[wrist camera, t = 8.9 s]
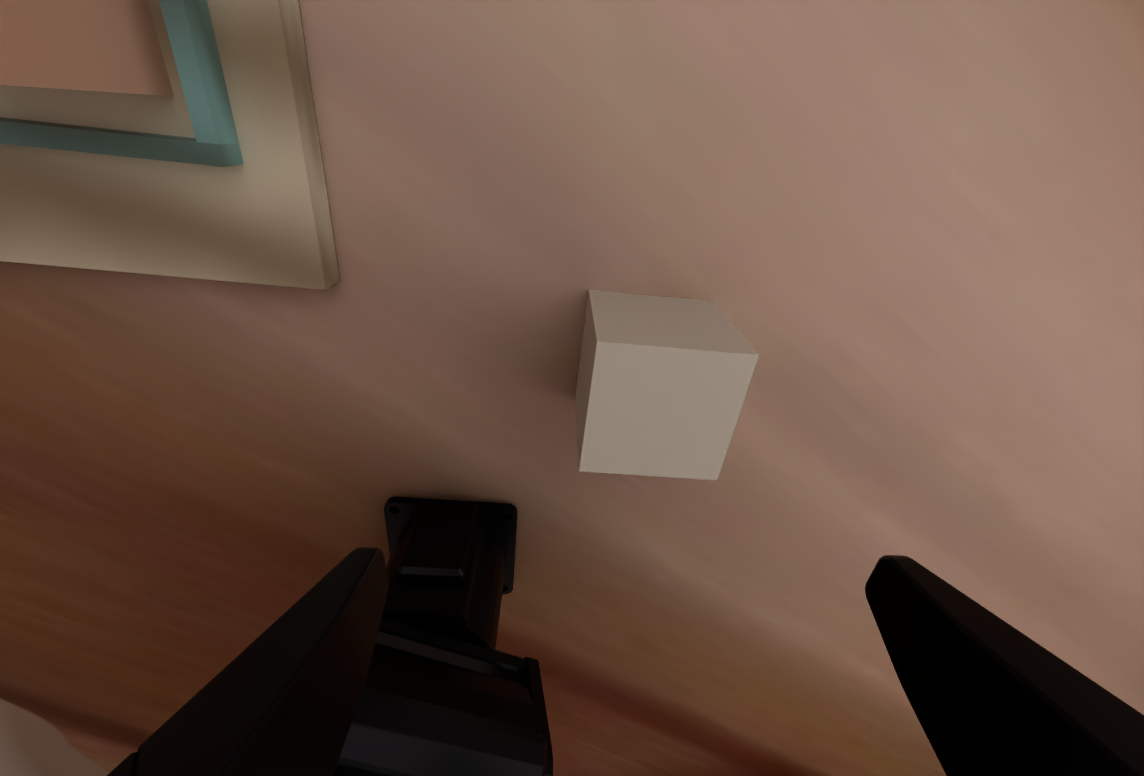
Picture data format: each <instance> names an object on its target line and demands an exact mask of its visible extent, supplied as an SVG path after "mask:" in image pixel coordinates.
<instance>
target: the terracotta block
mask: <svg viewBox="0 0 1144 776" xmlns="http://www.w3.org/2000/svg"><path fill="white" fill-rule="evenodd" d="M0 85H11V86H26V87H41V88H56V89H71V90H86V91H101V92H116V93H131V94H146V95H161V96H174V94H173V91H172V87H171V84H170V80H169V76H168V73H167V69H166V66H165V62H164V58H163V55H162V51H161V47H160V44H159V40H158V37H157V33H156V29H155V26H154V22H153V19H152V15H151V11H150V8H149V4H148V1H147V0H0Z"/></svg>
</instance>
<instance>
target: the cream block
mask: <svg viewBox="0 0 1144 776" xmlns="http://www.w3.org/2000/svg"><path fill="white" fill-rule="evenodd" d="M758 357H759V354H758V353H757V352H756V351H755V350H754V349H753V347H752V346H751V345H750V344H749V343H748V342H747V340H746V339H745V338H744V337H743V336H742V335H741V333H740V332H739V331H738V330H737V329H736V328H735V326H734V325H733V324H732V323H731V322H730V320H729V319H728V318H727V317H726V316H725V315H724V313H723V312H722V311H721V310H720V309H719V308H718V306H717V305H716V304H715V303H714V302H713V301H703V300H693V299H682V298H671V297H661V296H650V295H639V294H628V293H618V292H607V291H596V290H589V291H588V299H587V307H586V315H585V323H584V332H583V340H582V348H581V356H580V364H579V372H578V380H577V388H576V396H575V405H576V424H577V443H578V462H579V471H583V472H598V473H613V474H628V475H643V476H659V477H674V478H689V479H704V480H718V477H719V474H720V471H721V468H722V465H723V462H724V459H725V456H726V453H727V450H728V447H729V444H730V441H731V438H732V435H733V432H734V429H735V426H736V423H737V420H738V417H739V414H740V411H741V408H742V405H743V402H744V399H745V396H746V393H747V390H748V387H749V384H750V381H751V378H752V375H753V372H754V369H755V366H756V363H757V360H758Z"/></svg>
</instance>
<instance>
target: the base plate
mask: <svg viewBox="0 0 1144 776" xmlns="http://www.w3.org/2000/svg"><path fill="white" fill-rule="evenodd" d="M147 1H148V4H149V8H150V11H151V15H152V19H153V22H154V26H155V29H156V33H157V37H158V40H159V44H160V47H161V51H162V55H163V58H164V62H165V66H166V69H167V73H168V76H169V80H170V84H171V87H172V91H173V94H174V96H161V95H146V94H131V93H116V92H101V91H86V90H71V89H56V88H41V87H26V86H11V85H0V261H5V262H16V263H28V264H39V265H50V266H61V267H73V268H84V269H95V270H106V271H118V272H129V273H140V274H152V275H163V276H174V277H185V278H197V279H208V280H219V281H230V282H242V283H253V284H264V285H275V286H287V287H298V288H309V289H320V290H327V289H328V288H330V287H331V286H332V285H334V284H335V283H337V282H338V281H339V280H340V278H339V271H338V264H337V258H336V251H335V244H334V238H333V231H332V224H331V217H330V211H329V204H328V197H327V191H326V184H325V177H324V171H323V164H322V157H321V151H320V144H319V137H318V130H317V124H316V117H315V110H314V104H313V97H312V90H311V84H310V77H309V70H308V63H307V57H306V50H305V43H304V37H303V30H302V23H301V17H300V10H299V3H298V0H147Z"/></svg>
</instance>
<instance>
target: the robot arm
mask: <svg viewBox="0 0 1144 776" xmlns="http://www.w3.org/2000/svg"><path fill="white" fill-rule="evenodd" d="M393 506H395V507H397V508H395V507H393ZM384 513H385V521H386V528H387V535H388V543H389V550H390V560H389V562H388V565H387V567H386V565H385V560H384V556H383V552H382V550H381V549H380V548H369V547H360V548H356V549H355V550H353V551H352V552H351V553H350V554H348V555H347V556H346V557H345V558H344V559H343V560H342V561H341V562H340V563H339V564H338V565H336V566H335V567H334V568H333V569H332V570H331V571H330V572H329V573H328V574H327V575H326V576H324V577H323V578H322V579H321V580H320V581H319V582H318V583H317V584H316V585H315V586H314V587H312V588H311V589H310V590H309V591H308V592H307V593H306V594H305V595H304V596H303V597H302V598H300V599H299V600H298V601H297V602H296V603H295V604H294V605H293V606H292V607H291V608H290V609H289V610H287V611H286V612H285V613H284V614H283V615H282V616H281V617H280V618H279V619H278V620H277V621H275V622H274V623H273V624H272V625H271V626H270V627H269V628H268V629H267V630H266V631H265V632H263V633H262V634H261V635H260V636H259V637H258V638H257V639H256V640H255V641H254V642H253V643H251V644H250V645H249V646H248V647H247V648H246V649H245V650H244V651H243V652H242V653H241V654H239V655H238V656H237V657H236V658H235V659H234V660H233V661H232V662H231V663H230V664H229V665H227V666H226V667H225V668H224V669H223V670H222V671H221V672H220V673H219V674H218V675H217V676H215V677H214V678H213V679H212V680H211V681H210V682H209V683H208V684H207V685H206V686H205V687H203V688H202V689H201V690H200V691H199V692H198V693H197V694H196V695H195V696H194V697H193V698H191V699H190V700H189V701H188V702H187V703H186V704H185V705H184V706H183V707H182V708H181V709H179V710H178V711H177V712H176V713H175V714H174V715H173V716H172V717H171V718H170V719H169V720H167V721H166V722H165V723H164V724H163V725H162V726H161V727H160V728H159V729H158V730H157V731H155V732H154V733H153V734H152V735H151V736H150V737H149V738H148V739H147V740H146V741H145V742H144V743H142V744H141V745H140V747H139V748H138V751H137V752H134V753H131V754H130V755H129V756H128V757H127V758H126V759H125V760H124V761H122V762H121V763H120V764H119V765H118V766H117V767H116V768H115V769H114V770H113V771H112V772H110V773H109V774H108V775H107V776H553V755H552V745H551V739H550V733H549V726H548V720H547V714H546V707H545V701H544V694H543V688H542V682H541V675H540V669H539V663H538V660H536V659H533V658H529V657H525V658H521V657H518V656H515V655H511V654H508V653H504V652H501V651H498V650H495V647H496V639H497V631H498V623H499V615H500V607H501V599H502V594H508V593H510V592H511V591H512V589H513V580H514V563H515V545H516V528H517V508H516V507H515V506H514V505H512V504H506V503H490V502H473V501H457V500H440V499H423V498H407V497H391V498H389V499H388V500H387V502H386V504H385V507H384ZM504 513H509V514H508V515H507V514H504ZM865 593H866V597H867V600H868V603H869V605H870V608H871V611H872V613H873V616H874V618H875V621H876V623H877V626H878V628H879V631H880V633H881V636H882V638H883V641H884V643H885V646H886V648H887V651H888V653H889V656H890V658H891V661H892V663H893V666H894V669H895V671H896V673H897V676H898V678H899V680H900V683H901V685H902V687H903V689H904V691H905V693H906V696H907V698H908V700H909V702H910V704H911V706H912V708H913V710H914V712H915V714H916V716H917V718H918V720H919V722H920V724H921V726H922V728H923V730H924V732H925V734H926V736H927V738H928V740H929V742H930V744H931V746H932V748H933V750H934V752H935V754H936V756H937V758H938V760H939V761H940V763H941V765H942V767H943V769H944V771H945V773H946V775H947V776H1144V715H1143V714H1141V713H1140V712H1138V711H1137V710H1135V709H1134V708H1132V707H1131V706H1129V705H1128V704H1126V703H1125V702H1123V701H1122V700H1120V699H1119V698H1117V697H1116V696H1114V695H1113V694H1111V693H1110V692H1109V691H1107V690H1106V689H1104V688H1103V687H1101V686H1100V685H1098V684H1097V683H1095V682H1094V681H1092V680H1091V679H1089V678H1088V677H1086V676H1085V675H1083V674H1082V673H1080V672H1079V671H1077V670H1076V669H1074V668H1073V667H1071V666H1070V665H1068V664H1067V663H1066V662H1064V661H1063V660H1061V659H1060V658H1058V657H1057V656H1055V655H1054V654H1052V653H1051V652H1049V651H1048V650H1046V649H1045V648H1043V647H1042V646H1040V645H1039V644H1037V643H1036V642H1034V641H1033V640H1031V639H1030V638H1028V637H1027V636H1025V635H1024V634H1023V633H1021V632H1020V631H1018V630H1017V629H1015V628H1014V627H1012V626H1011V625H1009V624H1008V623H1006V622H1005V621H1003V620H1002V619H1000V618H999V617H997V616H996V615H994V614H993V613H991V612H990V611H988V610H987V609H985V608H984V607H983V606H981V605H980V604H978V603H977V602H975V601H974V600H972V599H971V598H969V597H968V596H966V595H965V594H963V593H962V592H960V591H959V590H957V589H956V588H954V587H953V586H951V585H950V584H948V583H947V582H945V581H944V580H942V579H941V578H940V577H938V576H937V575H935V574H934V573H932V572H931V571H929V570H928V569H926V568H925V567H923V566H922V565H920V564H919V563H917V562H916V561H914V560H913V559H911V558H909V557H907V556H897V555H886V556H883V557H881V558H880V559H879V560H878V562H877V564H876V566H875V568H874V570H873V571H872V573H871V575H870V577H869V579H868V581H867V583H866V586H865Z"/></svg>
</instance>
